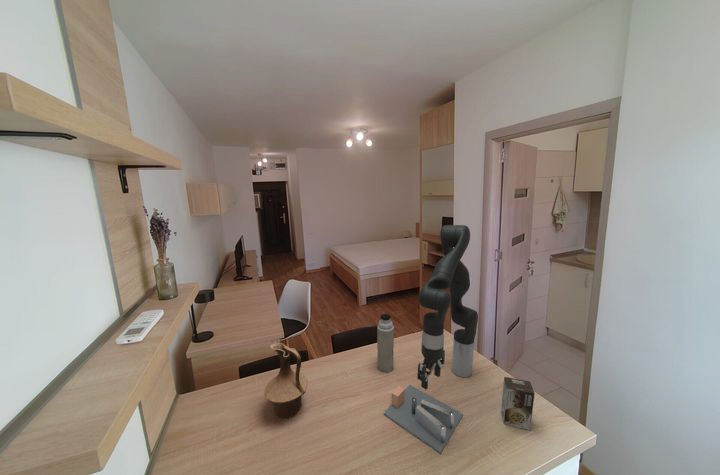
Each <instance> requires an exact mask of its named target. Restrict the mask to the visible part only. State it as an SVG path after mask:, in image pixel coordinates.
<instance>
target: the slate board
mask: <svg viewBox="0 0 720 475" xmlns="http://www.w3.org/2000/svg"><path fill="white" fill-rule="evenodd" d="M404 389H405V400H404V402H403V403H402V404H401V405H400V406H399V407H398V408H396V407H395V406H393V405H392V404H391V405H389V407H388V408H387V409H386V410H385V411H384V412H383V415H384V416H385V417H386V418H388V419H389V420H390V421H393V423H395V424H397V425H398V426H400V427H401V428H402V429H404V430H405V431H407V432H409V434H411V435H412V436H413V437H415V438H417V439H418V440H419V441H421V442H422V443H424V444H425V445H427V446H428V447H430V448H431V449H432V450H434V451H436V452H437V453H438V454H440V455H442V452H443V450H444V449H445V447H446V445H447V444H448V442H449V440H450V438H451V437H452V435H453V433H454V432H455V430H456V428H457V426H458V425H459V423H460V421H461V419H462V417H463V415H464V414H463V412H460V411H458V410H456V409H455V408H453V407H451V406H449V405H447V404H446V403H444V402H442V401H440V400H438V399H436V398H435V397H433V396H431V395H430V394H428V393H426V392H424V391H422V390H420V389H419V388H417V387H415V386H413V385H412V384H409V385H408V386H406V388H404ZM413 397H414V398H416V399H417V404H416V407H417V406H418V405H421V401H422V399H423V400H425V401H427V402H430V403H432V404H435V405H437V406H439V407H442V408H444V409H447V410H449V411H451V412H453V413H454V426H453V428H452V429H451V428H448V427H446V437H445V442H444V443H442V442H440V441H439V440H438V439H437V438H436V437H435V436H433V435H432V434H431V433H430V432H429V431H428V430H427V429H425V428H424V427H423V426H422V425H421V424H420V423H418V422H417V421H416V420H415V414H412V398H413Z"/></svg>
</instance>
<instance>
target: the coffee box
mask: <svg viewBox="0 0 720 475" xmlns="http://www.w3.org/2000/svg"><path fill="white" fill-rule="evenodd" d="M501 398H502V399H501V408H500V414H501V418H502V419H501V420H502V424H503V425H506V426H511V427H515V428H518V429H519V428H520V429H523V430H528V431H531V427H532V419H533V418H532V416H533V409H534V400H535V390H534V388H533V385H532V383H531V381H529V380H523V379H519V378H514V377H513V378H512V377H508V376H504V379H503V387H502V397H501Z"/></svg>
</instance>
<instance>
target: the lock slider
mask: <svg viewBox="0 0 720 475" xmlns="http://www.w3.org/2000/svg"><path fill="white" fill-rule="evenodd" d="M405 389H406V388H403V387H402V386H401V385H398V386H397V387H396V388H395V389H394V390H393V391H392V392H391V405H393V406H395V407H396V408H398V407H399V406H400V405H401V404H402V403H403V402H404V400H405Z"/></svg>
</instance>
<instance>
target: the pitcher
mask: <svg viewBox="0 0 720 475" xmlns="http://www.w3.org/2000/svg"><path fill="white" fill-rule="evenodd" d="M275 347H279V348H275ZM269 349H270V350H271V351H275V352H276V353H277V354H278V357H279V361H280V367H279V372H278V374H277V375H275V376H274V377H273V378H272V379H270V380H269V381H268V382H267V384H266V385H265V387H264V396H265V397H266V399H267V400H268V401H270V402H272V405H273V410H274V414H275V416H276V417H279V418H282V419H287V418H290V417H293V416H294V415H296V414H298V413H299V411H300V410H301V408H302V396H304V395H305V394H306V391H307V388H308V384H309V383H308V382H309V381H308V378H307V377H306V376H305V374H303V373H301V372H300V371H301V367H302V357H301V355H300V353H299V352H298V351H297V350H296V348H293V347H292V348H291V347H289V346H287V345H285V344H284V343H282V342H274V343H272V344H270V346H269ZM291 357H294V358H295V361H296V366H295V367H296V368H295V371H293V369H292V368H291V362H290V361H291Z"/></svg>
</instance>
